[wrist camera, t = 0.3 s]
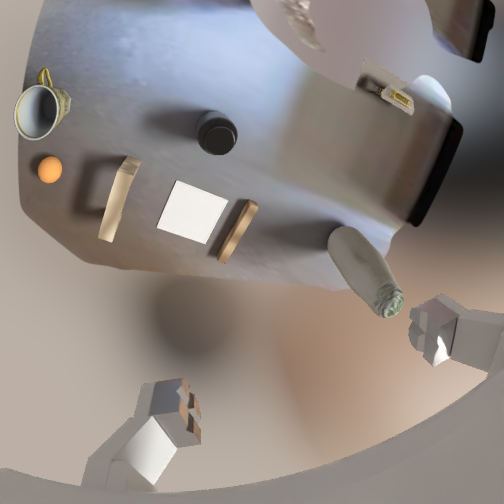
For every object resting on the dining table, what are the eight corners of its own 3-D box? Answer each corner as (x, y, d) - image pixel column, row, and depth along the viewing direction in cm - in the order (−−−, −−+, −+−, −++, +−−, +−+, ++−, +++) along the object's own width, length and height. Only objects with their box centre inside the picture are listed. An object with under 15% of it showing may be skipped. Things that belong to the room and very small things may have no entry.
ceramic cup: (76, 128, 45) (56, 140, 37) (36, 128, 42) (13, 141, 34) (84, 65, 38) (63, 65, 30) (42, 68, 35) (17, 71, 27)
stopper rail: (248, 199, 62) (250, 204, 60) (256, 202, 63) (258, 207, 61) (216, 255, 69) (217, 261, 67) (224, 257, 70) (225, 263, 68)
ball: (47, 150, 45) (36, 158, 41) (68, 157, 47) (58, 165, 43) (42, 173, 47) (31, 183, 43) (62, 180, 50) (53, 190, 45)
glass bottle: (361, 232, 74) (420, 302, 52) (335, 257, 78) (384, 333, 55) (342, 212, 69) (405, 285, 47) (313, 240, 73) (365, 321, 50)
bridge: (108, 215, 57) (98, 237, 50) (127, 155, 51) (117, 170, 44) (120, 219, 58) (111, 242, 51) (141, 160, 52) (133, 176, 45)
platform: (365, 57, 47) (382, 58, 42) (419, 91, 53) (436, 96, 48) (349, 102, 53) (365, 107, 48) (404, 131, 59) (421, 138, 54)
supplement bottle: (190, 136, 52) (190, 152, 42) (205, 105, 49) (208, 113, 39) (222, 148, 55) (229, 167, 45) (237, 119, 52) (248, 130, 42)
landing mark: (176, 180, 56) (176, 180, 56) (228, 200, 61) (228, 200, 61) (156, 227, 61) (156, 227, 61) (205, 243, 67) (205, 244, 66)
